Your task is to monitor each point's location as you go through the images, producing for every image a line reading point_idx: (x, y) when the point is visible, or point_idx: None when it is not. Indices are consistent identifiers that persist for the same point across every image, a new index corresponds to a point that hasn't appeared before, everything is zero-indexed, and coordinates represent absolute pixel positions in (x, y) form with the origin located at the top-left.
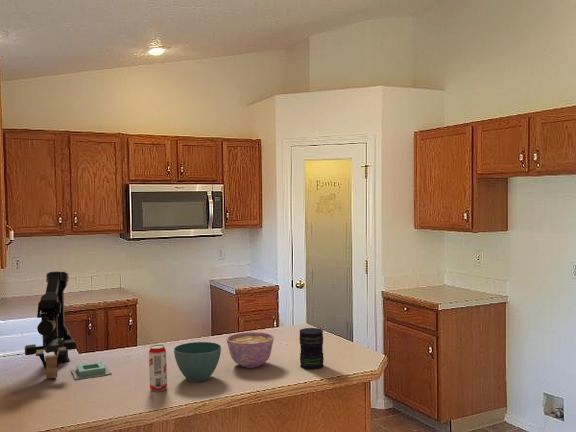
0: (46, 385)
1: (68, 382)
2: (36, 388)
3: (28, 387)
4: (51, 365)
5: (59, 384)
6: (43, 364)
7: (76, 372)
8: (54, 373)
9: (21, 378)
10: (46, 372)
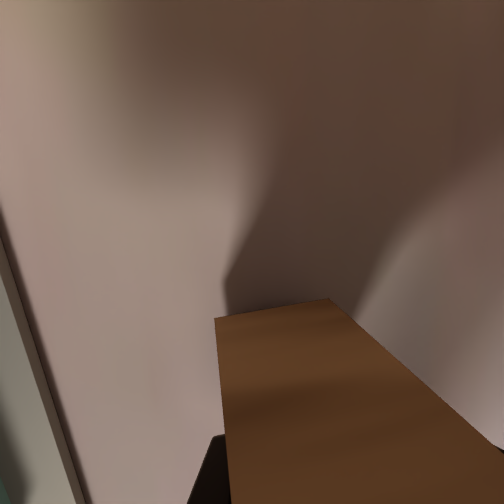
0: (323, 113)
1: (66, 115)
2: (424, 43)
3: (486, 128)
4: (340, 416)
5: (178, 77)
6: (502, 452)
7: (6, 450)
8: (254, 336)
9: (497, 425)
10: (364, 330)
